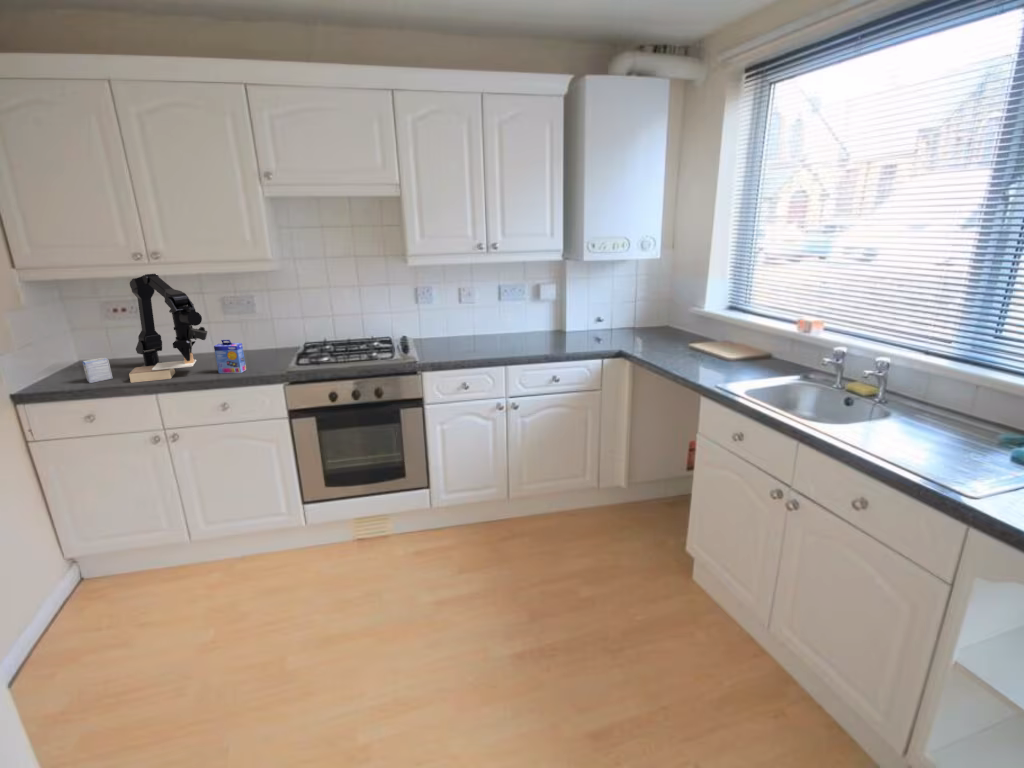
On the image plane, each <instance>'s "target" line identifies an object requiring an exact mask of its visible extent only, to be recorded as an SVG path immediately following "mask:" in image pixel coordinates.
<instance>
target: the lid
mask: <svg viewBox="0 0 1024 768" xmlns="http://www.w3.org/2000/svg"><path fill="white" fill-rule="evenodd" d="M183 359H184V360H177V361H176V360H175V361H166V362H165V361H164V362H163V361H162V363H157V364H156V365H155V366H154V367H153V368H152V370H161V369H172V368H174V369H178V368H179V369H180V368H190V367H194V365H195V363H196V362H197V359H194V355H193V352H192V353H190V361H187V360H186V359H185V358H184V357H183Z"/></svg>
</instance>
